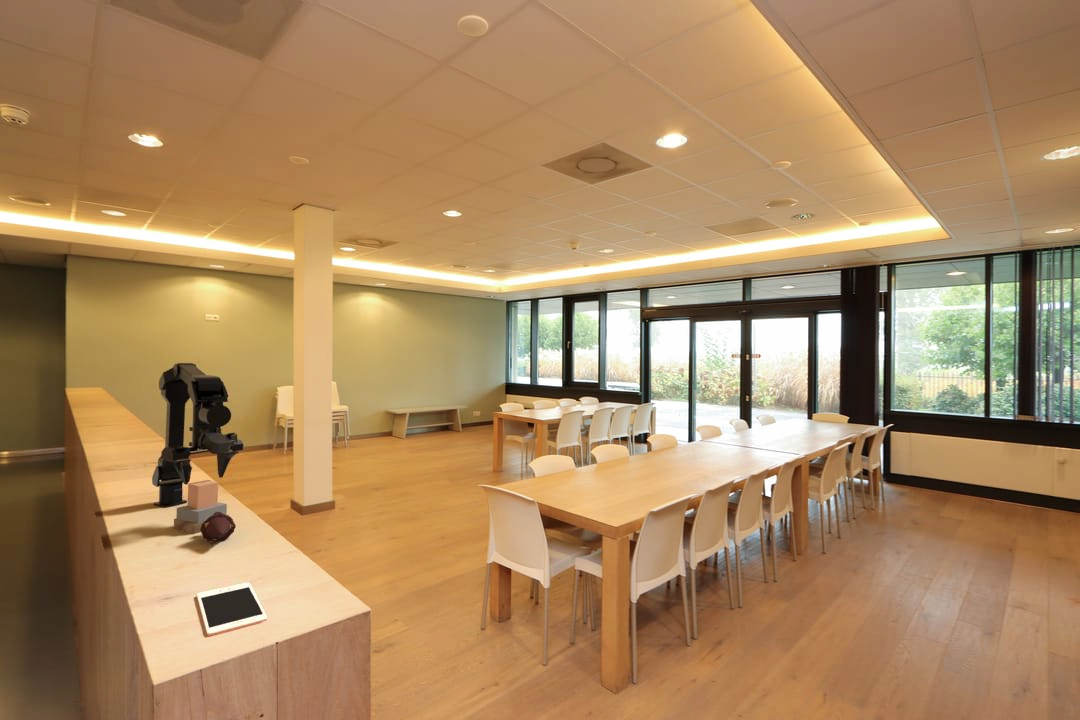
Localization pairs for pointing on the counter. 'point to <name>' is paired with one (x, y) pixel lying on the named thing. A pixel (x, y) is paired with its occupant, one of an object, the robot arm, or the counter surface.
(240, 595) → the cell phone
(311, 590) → the counter surface
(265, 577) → the counter surface
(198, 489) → the block
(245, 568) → the counter surface
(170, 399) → the robot arm
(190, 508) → the tower top
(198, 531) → the tower bottom
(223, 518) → the maroon plush toy
